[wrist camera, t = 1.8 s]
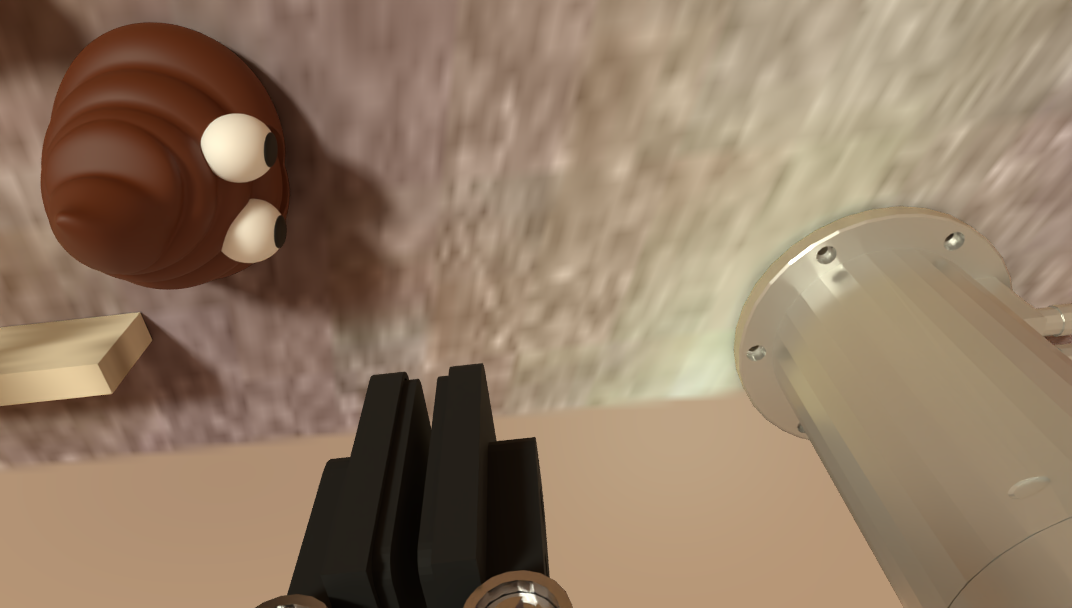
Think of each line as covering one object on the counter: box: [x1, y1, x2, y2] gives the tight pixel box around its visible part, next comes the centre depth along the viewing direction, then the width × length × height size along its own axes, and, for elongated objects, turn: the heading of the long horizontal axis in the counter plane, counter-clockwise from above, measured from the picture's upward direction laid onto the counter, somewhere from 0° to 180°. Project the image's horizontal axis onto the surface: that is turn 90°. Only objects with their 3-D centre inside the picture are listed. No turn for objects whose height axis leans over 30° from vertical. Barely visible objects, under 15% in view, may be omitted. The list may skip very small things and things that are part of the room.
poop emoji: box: [41, 22, 290, 289], centre depth 25 cm, size 10×9×9 cm
